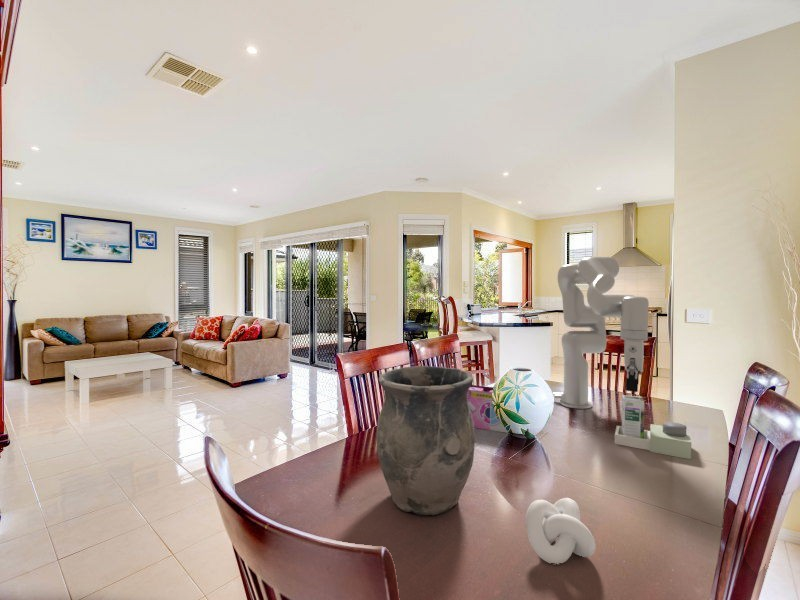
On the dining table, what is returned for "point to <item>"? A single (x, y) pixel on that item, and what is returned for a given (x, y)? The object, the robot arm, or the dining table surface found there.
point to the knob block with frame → (660, 439)
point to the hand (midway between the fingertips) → (632, 387)
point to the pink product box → (483, 408)
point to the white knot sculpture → (558, 530)
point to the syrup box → (633, 416)
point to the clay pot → (425, 437)
